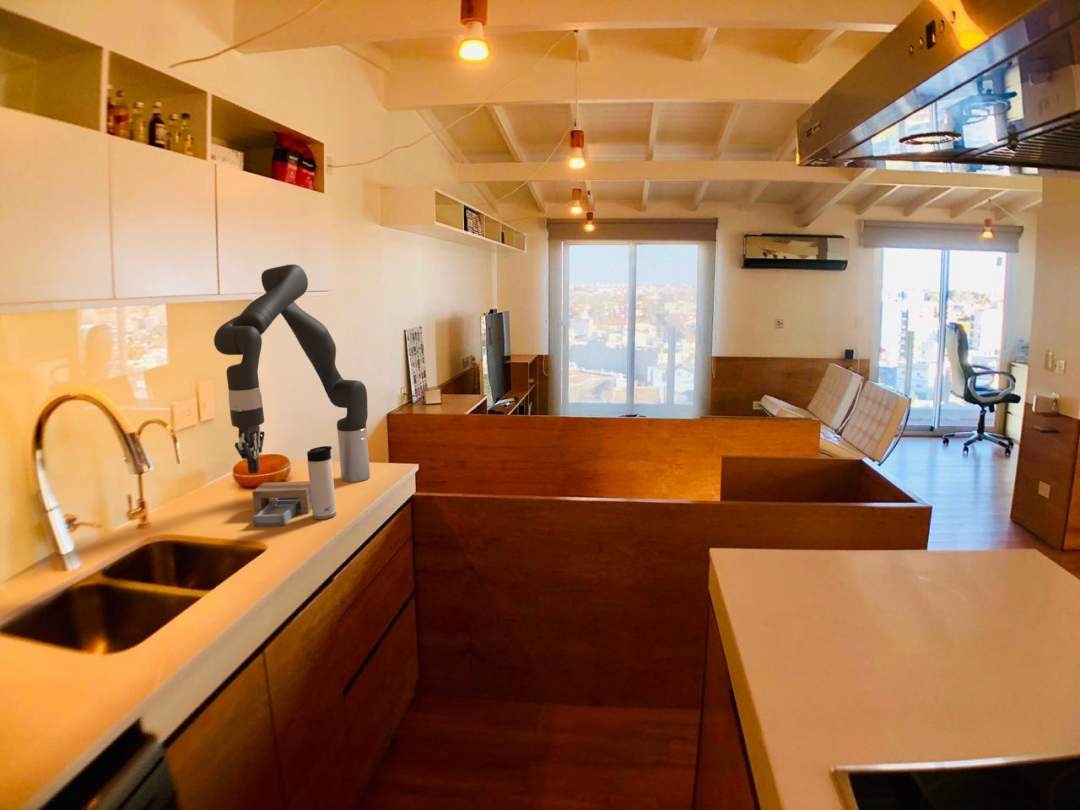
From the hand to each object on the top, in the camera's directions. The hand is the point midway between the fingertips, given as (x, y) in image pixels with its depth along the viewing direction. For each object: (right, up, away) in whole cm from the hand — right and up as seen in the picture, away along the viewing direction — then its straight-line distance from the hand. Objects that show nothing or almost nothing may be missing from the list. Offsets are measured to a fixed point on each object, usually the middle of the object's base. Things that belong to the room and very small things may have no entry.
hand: (254, 472), depth 161 cm
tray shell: (0, -14, +17) cm, 22 cm away
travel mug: (+13, -14, +16) cm, 25 cm away
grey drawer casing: (0, -13, +22) cm, 25 cm away
